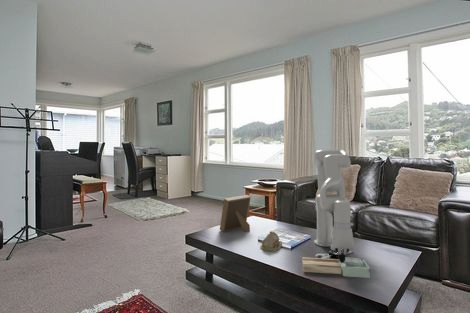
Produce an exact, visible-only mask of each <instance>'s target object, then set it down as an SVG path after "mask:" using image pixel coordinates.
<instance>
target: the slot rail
mask: <svg viewBox="0 0 470 313" xmlns="http://www.w3.org/2000/svg"><path fill="white" fill-rule="evenodd" d="M301 260H302V261H301V265H302V271H303V273H304V272H305V273H316V274H317V273H321V274H335V275H342V272H341V265H340V264H339V260H338V259H336V258H330V259H324V258H321V257H318V258H316V257H303V256H302V259H301Z"/></svg>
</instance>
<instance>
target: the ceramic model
mask: <svg viewBox="0 0 470 313" xmlns="http://www.w3.org/2000/svg"><path fill="white" fill-rule="evenodd" d="M280 239H281V238H280V237H279V235H278V233H276V231H269V233H268V234H267V235H266V237H265V238H264V239H263V240H262V241H261V245H260V246H259V249H260V250H261V251H266V252H277V251H278V250H280V249H282V246H283V242H282V241H280Z"/></svg>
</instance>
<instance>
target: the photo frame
mask: <svg viewBox="0 0 470 313" xmlns="http://www.w3.org/2000/svg"><path fill="white" fill-rule="evenodd" d="M251 199H252V196H250V195H248V194H244V195H242V194H241V195H237V196H231V197H224V198H223V205H222V212H221V217H220V218H221V219H220V223H219V224H220V225H219V231H221V232H222V233H226V232H229V231H233V230H237V229H241V228H242V230H243V232H250V231H251V228H250V227H251V226H250V223H249V222H248V221H247V220H248V215H249V208H250V203H251Z"/></svg>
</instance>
